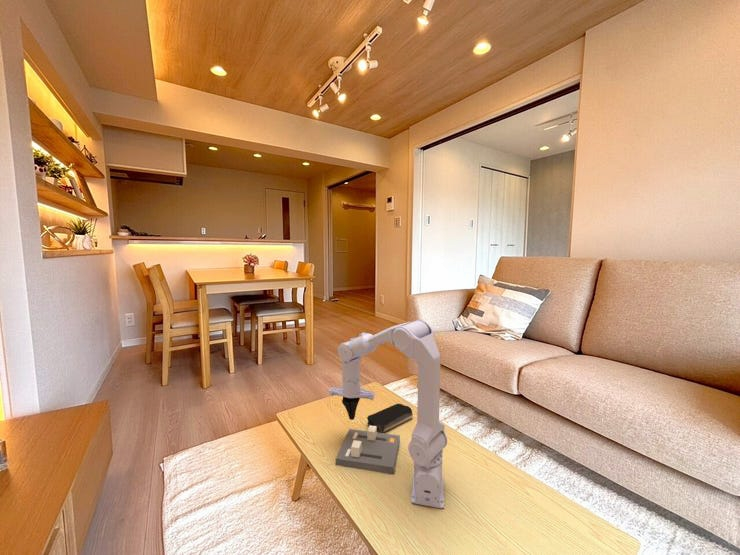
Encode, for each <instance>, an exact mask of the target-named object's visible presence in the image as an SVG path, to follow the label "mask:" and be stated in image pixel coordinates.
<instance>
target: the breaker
mask: <svg viewBox="0 0 740 555" xmlns="http://www.w3.org/2000/svg"><path fill="white" fill-rule="evenodd" d="M361 451H362V441H356V440H354V441H353V443H352V446H351V456H352V457H360V454H361Z"/></svg>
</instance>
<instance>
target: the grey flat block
mask: <svg viewBox="0 0 740 555" xmlns="http://www.w3.org/2000/svg"><path fill="white" fill-rule="evenodd" d="M367 431H368V430H361V429H353V428H349V429H348V431H347V433H346V435H345V438H344V439H343V442H342V444H341V446H340V448H339V450H338V453H337V455H336V457H335V465H336V466H340V467H341V466H342V467H348V468H354V469H360V470H367V471H373V472H379V473H384V474H385V473H387V474H391V475H392V474H393V475H394V474H395V468H396V463H397V458H398V452H399V447H400V443H401V442H400V441H401V438H400V437H401V436H400V435H401V434H400V435H399V434H392V433H391V434H390V433H384V432H377V436H376V439H375V441H371V440H367ZM354 440H356V441H362V451H361V454H360V457H352V456H351V446H352V443H353V441H354Z"/></svg>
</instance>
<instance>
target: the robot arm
mask: <svg viewBox="0 0 740 555" xmlns="http://www.w3.org/2000/svg"><path fill="white" fill-rule="evenodd" d="M389 342H390V345H391V346H395V348H396V349H398V351H400V352H401V353H403V355H405V356H406V357H407V358H409V359H410V360H412V361H413V362H416V363H417V404H416V405H417V407H416V408H417V411H416V413H417V415H416V418H417V419H416V424H415V426H414V429H413V430H412V433H411V440H410V441H409V443H408V447H407V448H408V453H409V456H410V457H411V460H412V461H413V475H412V483H411V484H412V486H411V494H410V495H411V496H410V502H411V503H412V504H416V505H422V506H426V507H433V508H438V509H444V508H445V502H444V501H445V499H444V498H445V496H444V495H445V493H444V492H445V490H444V477H443V453H444V452H443V451H444V448H446V447H447V445H448V437H447V434H446V430H445V424H444V423H443V422H441V420H440V398H441V396H440V395H441V361H442V360H441V359H442V358H441V354H440V351H439V348H438V345H437V343H436V341H435V330H434V328H433V327H432V326H431V325H430V324H429V323H428V322H427V321H425V320H423V319H416V320H414V321H408V322H405V323H404V322H403V323H400V324H396V325H393V326H391V327H388V328H386V329H384V330H382V331H379V332H378V333H375V334H372V333H366V331H365V332H362V333H359V335H358V336H357V337H352V338H350V339H349V341H345V342H341V343H340V344H339V345H338V347H337V355H338V358H339V359H340V360H341V372H342V373H341V375H342V376H341V377H342V383H341V384H342V387H341V386H339V387H337V386H336V387H330V388H329V392H328V394H329V395H328V396H330V397H333V396H339V397H342V400H341V403H342V404H343V406H344V408H345V410H346V412H347V415H348V416H347V417H348V418H349V420H352V421H353V420H354V419H355V418H356V414H357V413H356V412H357V408H358V405H359V402H360V399H366V400H370V401H374V399H375V391H371V390H368V389H364V388H361V362H362V357H363V356H367V355H369V354H372V353H374V352H376V349H377V348H378V346H380V345H383V344H387V343H389Z"/></svg>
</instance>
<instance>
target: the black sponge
mask: <svg viewBox="0 0 740 555" xmlns="http://www.w3.org/2000/svg"><path fill="white" fill-rule="evenodd" d="M413 416H414V414H413V409H412V408H411V407H410V406H408V405H405V404H402V403H395V404H393V405H390V406H388V407H385V408H384V409H382V410H379V411H377V412H375V413H373V414H370V415H368V416H366V419H367V424H368V425H370V426H377V432H379V433H384V432H387V431H389V430H391V429H393V428H395V427H397V426H399V425H400V424H403V423H405V422H406V421H408V420H410V419H412V418H413Z"/></svg>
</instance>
